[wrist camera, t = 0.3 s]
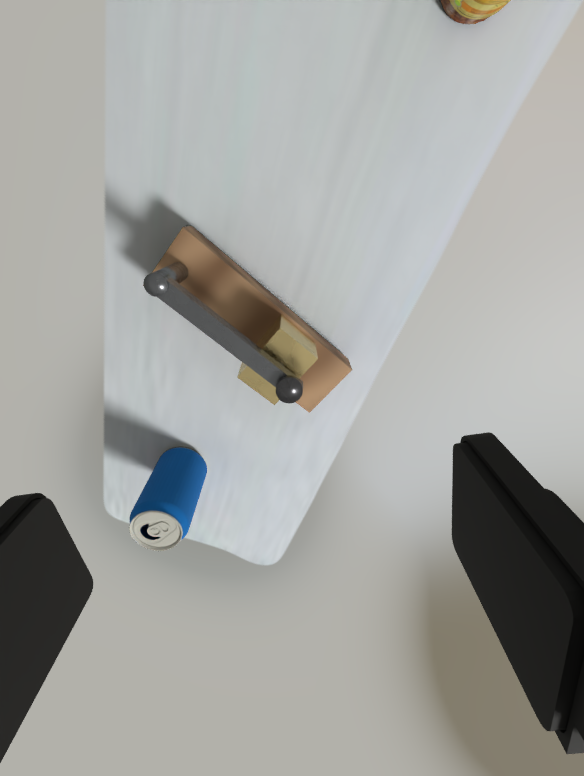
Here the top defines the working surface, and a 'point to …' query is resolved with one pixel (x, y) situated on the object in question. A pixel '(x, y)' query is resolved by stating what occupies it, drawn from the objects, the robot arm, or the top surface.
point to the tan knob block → (281, 355)
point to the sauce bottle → (472, 9)
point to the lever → (221, 330)
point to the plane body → (250, 307)
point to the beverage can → (168, 500)
